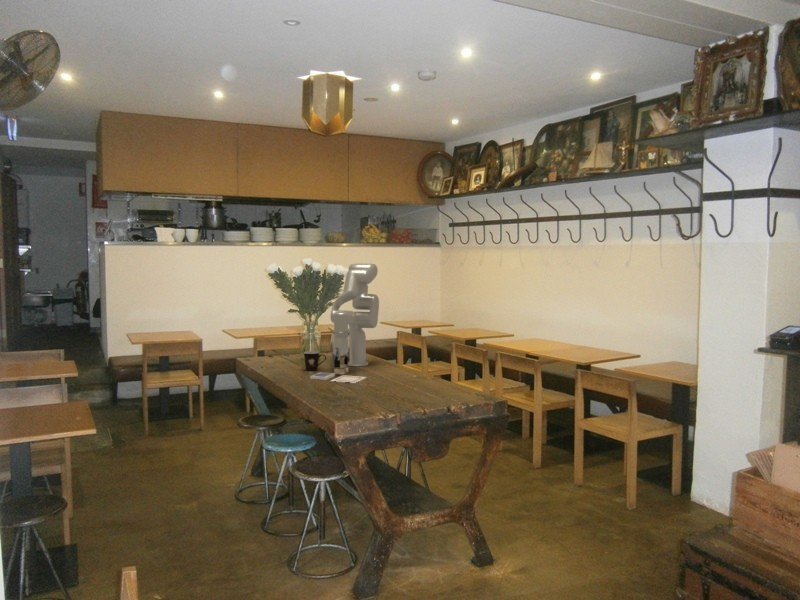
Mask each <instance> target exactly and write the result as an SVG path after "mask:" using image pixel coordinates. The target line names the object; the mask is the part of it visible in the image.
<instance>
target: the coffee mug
mask: <svg viewBox="0 0 800 600" xmlns="http://www.w3.org/2000/svg"><path fill="white" fill-rule="evenodd" d="M303 356H304V363H305V364H304V365H305V370H306V372H315V371H318V367H319V365H321V364H323V363H324V362H325V361H326V359H327V356H326V355H325V354H320V352H319V351H315V350H311V351H305V352H304V351H303ZM321 356H323V357H324V360H323V361H321V362H319V359H320V357H321Z"/></svg>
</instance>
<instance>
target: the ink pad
mask: <svg viewBox="0 0 800 600" xmlns="http://www.w3.org/2000/svg"><path fill="white" fill-rule="evenodd" d="M334 377H336V375H335V374H334V372H317V373H316V374H315V373H314V374H313V375H310V377H309V378H310V380H318V379H319V380H322V381H326V380H329V379H333V378H334Z"/></svg>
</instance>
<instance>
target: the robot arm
mask: <svg viewBox="0 0 800 600" xmlns="http://www.w3.org/2000/svg"><path fill="white" fill-rule="evenodd" d="M378 272H379V271H378V266H377V264H374V263H352V264H350V265H349V266H348V271H347V272H346V275H345V281H344V284H343V291H342V292H341V294H340V295H339V296H338V297H337V298H336V299H335V300H334V302H333V304H332V306H331V311H330V321H331V323H333V334H334V335H333V338H334V339H333V344H332V345H333V347H332V355H333V357H332V358H333V361H334V365H333V366H334V368H338V367H340V360H339V359H340V356H343V355H345V359H344V366H345V365H347V366H349V367H366V366H368V365H369V362H368V361H367V360H368V356H367V351H366V349H367V344H366V343H367V341H366V339H367V337H366V336H367V335H366V332H365V331H364V330H363V329H375V328H376V327H377V325H378V319H379V309H380V300H379V296H378V295H377V294H374V293H368V292H369V291H368V290H369V284H371V283H372V282H373V280H375V278H377V275H378ZM350 301H351V302H352V306H351V307H352V308H353V310H357V311H353V310H340V308H341V307H342V305H344V304H346V303H348V302H350ZM358 310H361V311H358ZM348 339H349V340H348ZM337 356H338V357H337Z"/></svg>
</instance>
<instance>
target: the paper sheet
mask: <svg viewBox="0 0 800 600" xmlns="http://www.w3.org/2000/svg"><path fill="white" fill-rule="evenodd" d="M367 378H368V377H367V376H355V375H347V374H345V375H339V377H335V378H332V379H331V380H330V382H334V381H336V382H337V383H345V382H350V383H349V384H356V382H357V383H358V381H359V382H360V381H363V380H365V379H367Z"/></svg>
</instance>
